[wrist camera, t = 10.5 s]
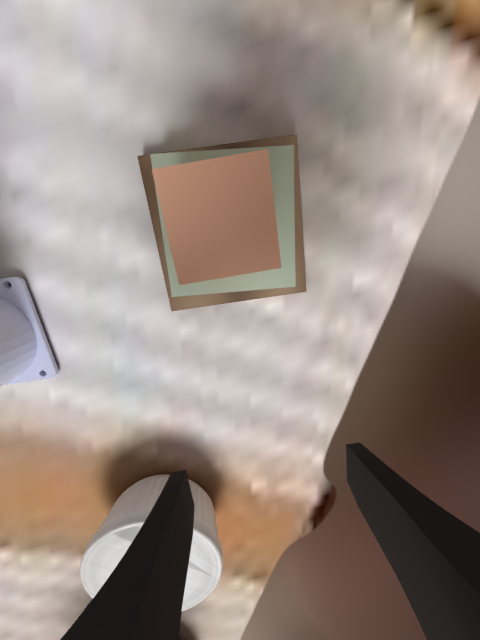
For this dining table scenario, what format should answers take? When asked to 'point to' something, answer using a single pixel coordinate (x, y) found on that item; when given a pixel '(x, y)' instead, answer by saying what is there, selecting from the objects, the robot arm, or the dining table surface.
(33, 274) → the dining table surface
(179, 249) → the terracotta block
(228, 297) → the tower base
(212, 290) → the tower top
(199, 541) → the ramekin
